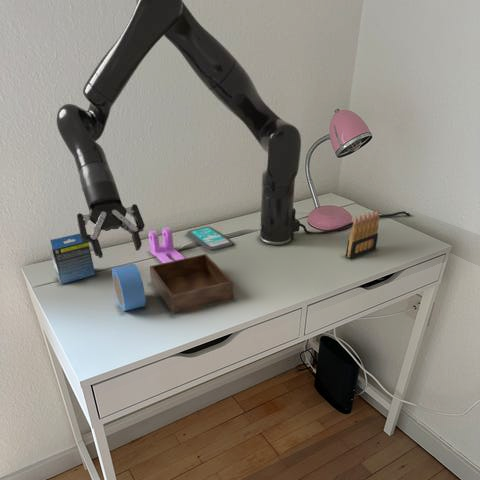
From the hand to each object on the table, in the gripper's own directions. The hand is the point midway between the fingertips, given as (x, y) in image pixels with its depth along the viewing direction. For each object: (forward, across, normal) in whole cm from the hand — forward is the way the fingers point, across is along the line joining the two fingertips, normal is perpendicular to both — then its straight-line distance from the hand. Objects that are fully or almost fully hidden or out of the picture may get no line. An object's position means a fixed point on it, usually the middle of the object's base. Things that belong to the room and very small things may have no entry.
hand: (120, 252), depth 104 cm
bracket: (-2, +16, +19) cm, 25 cm away
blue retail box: (-3, -9, +20) cm, 22 cm away
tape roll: (+11, 0, +6) cm, 13 cm away
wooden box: (+12, +15, +6) cm, 20 cm away
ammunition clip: (+13, +66, +4) cm, 67 cm away
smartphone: (-6, +31, +23) cm, 39 cm away
